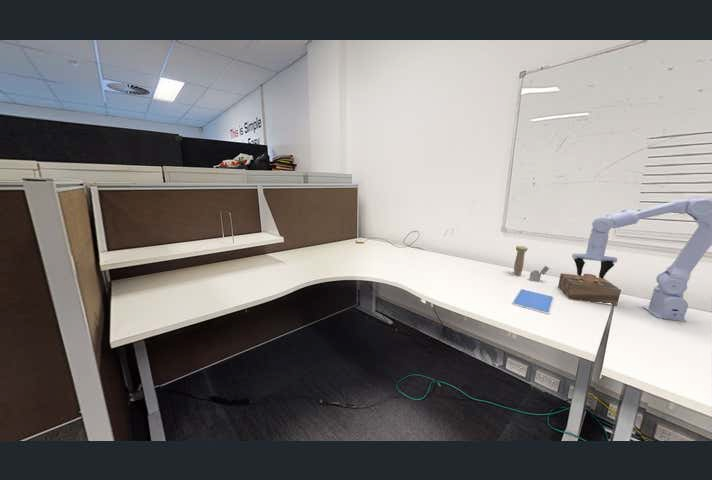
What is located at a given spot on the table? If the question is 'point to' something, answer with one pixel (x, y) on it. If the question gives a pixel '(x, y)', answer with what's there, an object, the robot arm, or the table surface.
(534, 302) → the tablet computer
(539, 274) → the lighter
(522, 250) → the handle
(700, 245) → the robot arm
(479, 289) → the table surface
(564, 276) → the socket block
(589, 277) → the peg
